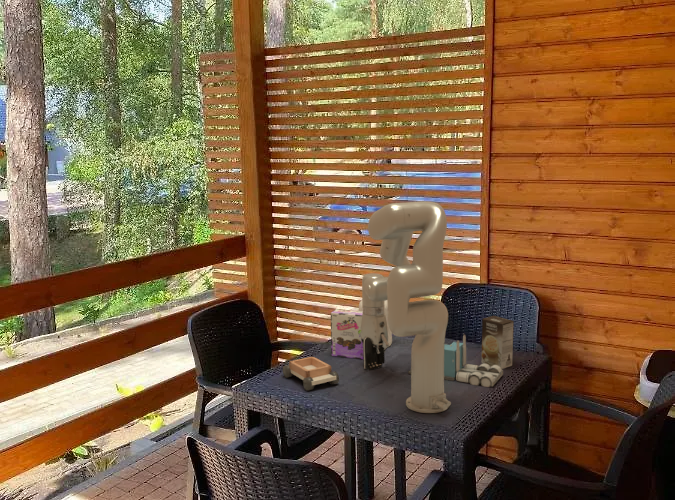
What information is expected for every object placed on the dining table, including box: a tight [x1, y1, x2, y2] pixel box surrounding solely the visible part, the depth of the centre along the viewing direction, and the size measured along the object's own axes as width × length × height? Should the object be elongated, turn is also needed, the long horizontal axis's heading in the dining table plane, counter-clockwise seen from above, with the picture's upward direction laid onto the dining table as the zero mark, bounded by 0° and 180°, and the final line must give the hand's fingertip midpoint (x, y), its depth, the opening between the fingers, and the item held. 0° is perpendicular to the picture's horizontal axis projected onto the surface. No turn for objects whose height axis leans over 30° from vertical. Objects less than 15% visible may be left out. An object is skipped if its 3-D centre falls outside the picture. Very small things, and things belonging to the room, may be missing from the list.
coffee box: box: [481, 315, 515, 370], centre depth 231 cm, size 9×6×16 cm
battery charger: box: [363, 337, 383, 371], centre depth 230 cm, size 7×4×11 cm, turn 126°
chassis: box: [282, 356, 340, 392], centre depth 220 cm, size 18×11×6 cm, turn 32°
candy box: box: [330, 308, 364, 360], centre depth 244 cm, size 14×6×16 cm, turn 67°
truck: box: [407, 334, 504, 388], centre depth 222 cm, size 12×29×15 cm, turn 61°
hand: (374, 360), depth 231 cm, fingers open, 6 cm apart
